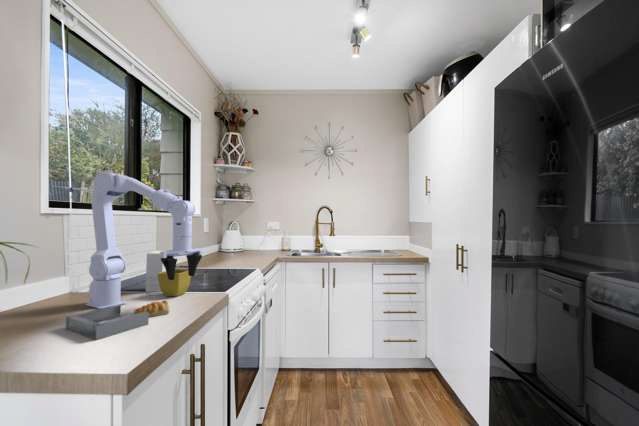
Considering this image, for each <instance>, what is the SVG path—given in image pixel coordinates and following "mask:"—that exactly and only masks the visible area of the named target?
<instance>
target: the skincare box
mask: <svg viewBox="0 0 639 426" xmlns="http://www.w3.org/2000/svg"><path fill="white" fill-rule="evenodd" d="M162 251H163V250H154V251H150V252H147V253H146V270H145V272H146V273H145V274H146V275H145V293H163V292H162V291H161V289H160V286H159V280H158V273H160V272H164V271H166V269H165V267H164V265H163V263H162V261H161V258H160V252H162Z"/></svg>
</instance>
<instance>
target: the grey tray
mask: <svg viewBox="0 0 639 426" xmlns="http://www.w3.org/2000/svg"><path fill="white" fill-rule="evenodd" d="M121 305H122V304H121ZM121 305H114V306H110V307H105V308H101V309H98V308H96V309H92V310H89V311H84V312H81V313H75V314H72V315H70V314H69V315H67V316H65V329H66V330H68V331H71V332H73V333H76V334H79V335H80V336H84V337H86V338H90V339H92V340H95V341H98V340H102V339H105V338H108V337H111V336H114V335H117V334H121V333H125V332H127V331H131V330H133V329H137V328H140V327H144V326H148V325H149V318H150V317H149V312H142V313H138V314H134V313H133V314H131V315H127V316H124V317H121V308H122V306H121ZM108 320H109V321H108ZM104 321H105V322H104Z"/></svg>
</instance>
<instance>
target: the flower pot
mask: <svg viewBox="0 0 639 426" xmlns="http://www.w3.org/2000/svg"><path fill="white" fill-rule="evenodd" d="M191 278H192V276H189V274H188V269H175V278H174V280H168V275H167V272H166V271H164V272H160V273H158V280H159V286H160V289H161V291H162V292H161V293H163V295H164V296H165V297H179V296H182V295H183V294H184V295H185V293H186V292H187V290H188V289H189V286H190V284H191V280H192V279H191Z"/></svg>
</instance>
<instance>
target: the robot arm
mask: <svg viewBox="0 0 639 426" xmlns="http://www.w3.org/2000/svg"><path fill="white" fill-rule="evenodd" d="M92 181H93V188H92V189H93V190H92V193H91V196H90V202H91V210H92V219H93V220H92V221H93V228H94V238H95V247H96V251H94V253H93V254H92V255H91V257H90V264H89V267H88V272H89V275H90V277H92V279H93V280H92V281H91V282H90V284H89V289H88V290H89V292H88V294H89V295H88V296H89V298H88V300H89V302H88V303H85V305H86V307H87V306H88V307H92V308H95V309H101V308H105V307H110V306H114V305H125V304H127V301H124V300H121V295H122V294H121V290H122V289H121V288H122V283H121V281H122V276H123V273H124V272H125V271H126V268H127V263H126V260H125V259H124V256H123V252H122V251H121V250H119V249H118V247H117V239H116V238H117V237H116V230H115V223H114V221H115V220H114V214H113V213H114V212H113V202H114V201H115V200H116V199H117V198H119V197H121V196H123V195H125V194H127V193H128V192H135V193H137V194H138V195H142V196H144V197H146V198H148V199H150V200H151V203H152V205H154V206H155V207H158V208H160V209H162V210H164V211H166V212H168V213H170V215H171V216H172V224H173V225H172V249H171V250H161V251H162V252H160V258H161V261H162V263H163V265H164V267H165V269H166V272H167V275H168V280H174V278H175V270H176V267H177V263H178V258H175V257H181V256H186V260H187V268H188V269H187V270H188V274H189V276H191V277H195V275H196V271H197V268H198V266H199V263H200V261H201V259H202V256H203V248H202V247H196V248H192V243H193V242H192V239H193V238H192V237H193V216H194V214H195V213H196V207H195V205H194V203H192V202H191V201H190V200H183V197H181V196H180V195H179V196H176V195H175V194H172V193H171V190H169V189H158V190H157V189H154V188H152V187H151V186H149V185H147V184H145V183H143V182H141V181H139V180H138V179H136V178H134V177H130V176H128V175H127V174H126V175H125V174H119V173H114V172H110V171H106V170H105V171H104V170H103V171H101V172H98V174H97V175H95V177H94V178H93V179H92Z"/></svg>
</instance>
